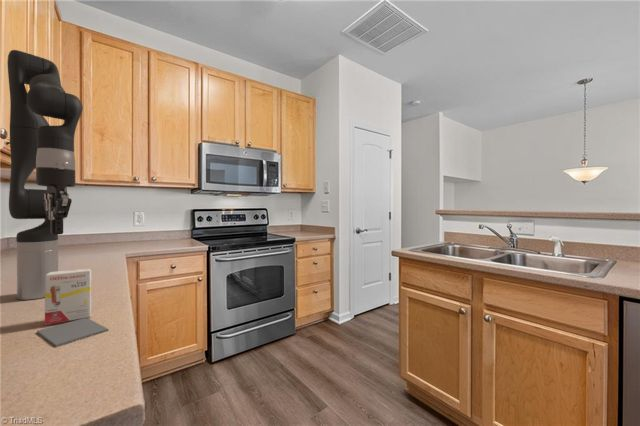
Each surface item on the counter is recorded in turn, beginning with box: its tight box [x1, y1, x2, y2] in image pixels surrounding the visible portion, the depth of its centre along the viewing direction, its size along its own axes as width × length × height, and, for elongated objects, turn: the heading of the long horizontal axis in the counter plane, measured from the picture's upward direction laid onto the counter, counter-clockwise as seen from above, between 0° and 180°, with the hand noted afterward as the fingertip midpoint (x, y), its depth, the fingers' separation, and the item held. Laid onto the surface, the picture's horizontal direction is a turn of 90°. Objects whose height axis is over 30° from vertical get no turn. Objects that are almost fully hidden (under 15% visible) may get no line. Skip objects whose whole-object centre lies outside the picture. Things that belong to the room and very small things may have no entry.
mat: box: [36, 317, 109, 348], centre depth 64 cm, size 12×9×1 cm
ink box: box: [44, 268, 92, 326], centre depth 71 cm, size 9×5×12 cm, turn 127°
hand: (56, 234), depth 74 cm, fingers closed
